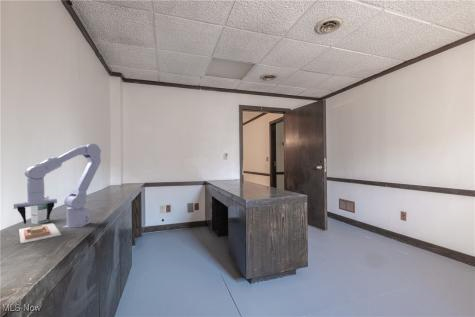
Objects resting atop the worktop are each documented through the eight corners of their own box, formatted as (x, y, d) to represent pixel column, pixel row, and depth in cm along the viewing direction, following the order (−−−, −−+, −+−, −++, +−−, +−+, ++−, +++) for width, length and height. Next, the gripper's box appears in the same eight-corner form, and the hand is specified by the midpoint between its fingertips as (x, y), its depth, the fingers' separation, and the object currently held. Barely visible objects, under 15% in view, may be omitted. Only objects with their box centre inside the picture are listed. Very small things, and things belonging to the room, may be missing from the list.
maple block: (43, 234, 97) (43, 227, 97) (31, 237, 94) (31, 230, 94) (41, 230, 103) (41, 224, 103) (30, 232, 100) (30, 226, 100)
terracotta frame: (24, 233, 99) (23, 229, 99) (46, 228, 105) (46, 225, 105) (25, 239, 91) (25, 236, 91) (49, 234, 97) (49, 231, 97)
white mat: (53, 223, 115) (53, 223, 115) (61, 235, 97) (61, 234, 97) (18, 229, 105) (18, 229, 105) (20, 244, 87) (20, 243, 87)
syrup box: (37, 224, 113) (36, 197, 113) (30, 223, 115) (30, 197, 115) (49, 221, 118) (49, 195, 118) (43, 220, 120) (43, 195, 120)
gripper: (55, 189, 106) (55, 216, 106) (13, 193, 96) (14, 223, 96) (57, 190, 101) (58, 218, 102) (13, 195, 91) (14, 226, 91)
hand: (36, 221), depth 98 cm, fingers open, 7 cm apart
